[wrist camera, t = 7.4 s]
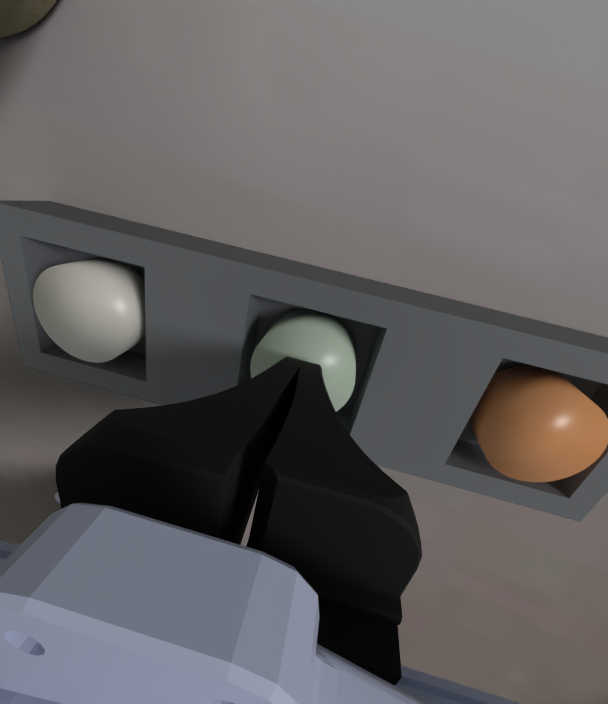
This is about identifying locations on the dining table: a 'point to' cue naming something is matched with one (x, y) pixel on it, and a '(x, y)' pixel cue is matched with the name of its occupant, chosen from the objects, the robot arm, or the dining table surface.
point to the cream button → (92, 307)
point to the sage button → (312, 349)
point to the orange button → (538, 425)
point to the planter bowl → (21, 14)
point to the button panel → (321, 295)
